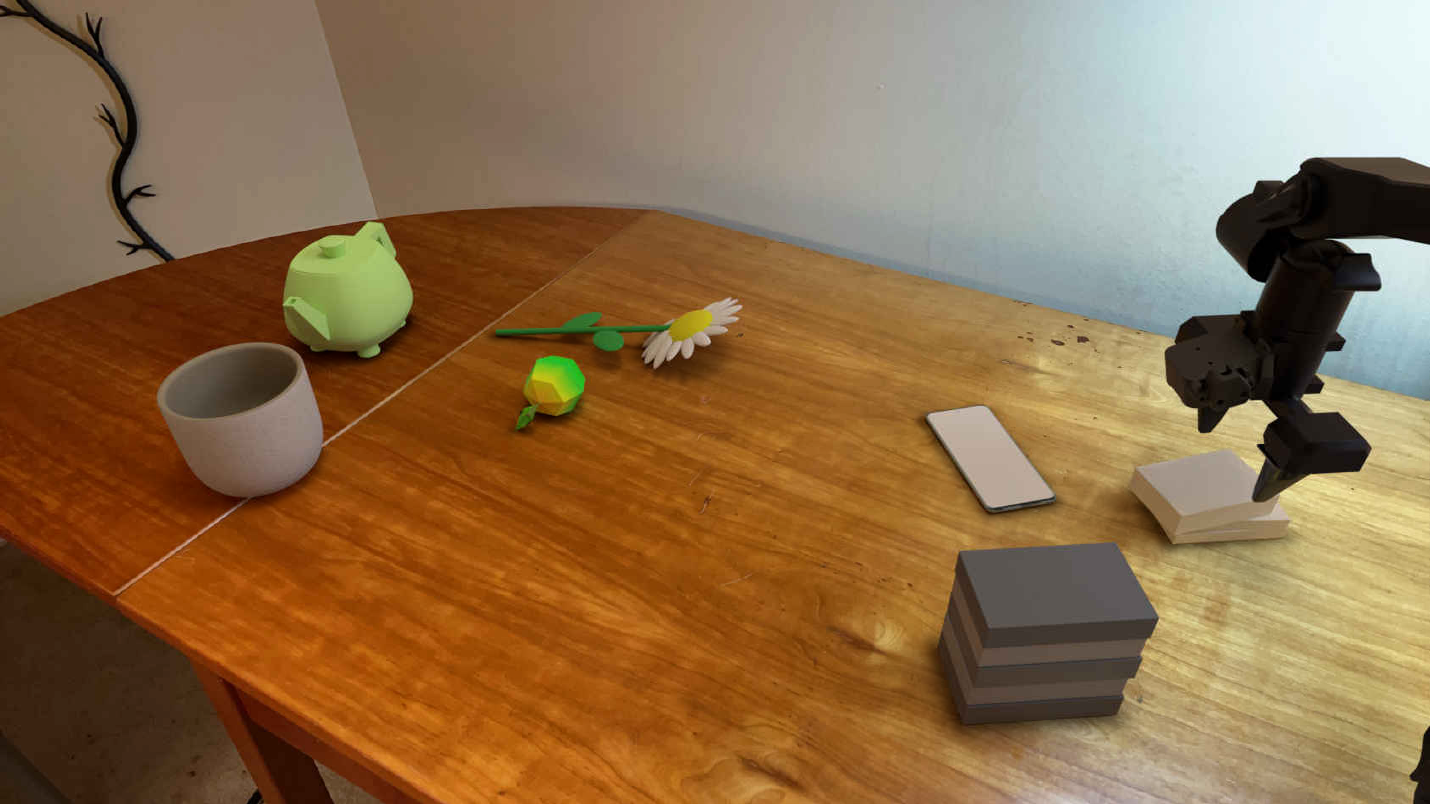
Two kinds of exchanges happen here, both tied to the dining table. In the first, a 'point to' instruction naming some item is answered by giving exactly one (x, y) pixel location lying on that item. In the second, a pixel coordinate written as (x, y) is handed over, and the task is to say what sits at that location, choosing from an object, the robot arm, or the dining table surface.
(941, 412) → the smartphone
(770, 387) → the dining table surface
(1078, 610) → the grey stack
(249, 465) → the planter
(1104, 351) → the dining table surface
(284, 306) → the teapot
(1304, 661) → the dining table surface
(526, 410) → the apple
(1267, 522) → the beige rectangular slab
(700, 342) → the decorative flower
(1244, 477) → the cream block
